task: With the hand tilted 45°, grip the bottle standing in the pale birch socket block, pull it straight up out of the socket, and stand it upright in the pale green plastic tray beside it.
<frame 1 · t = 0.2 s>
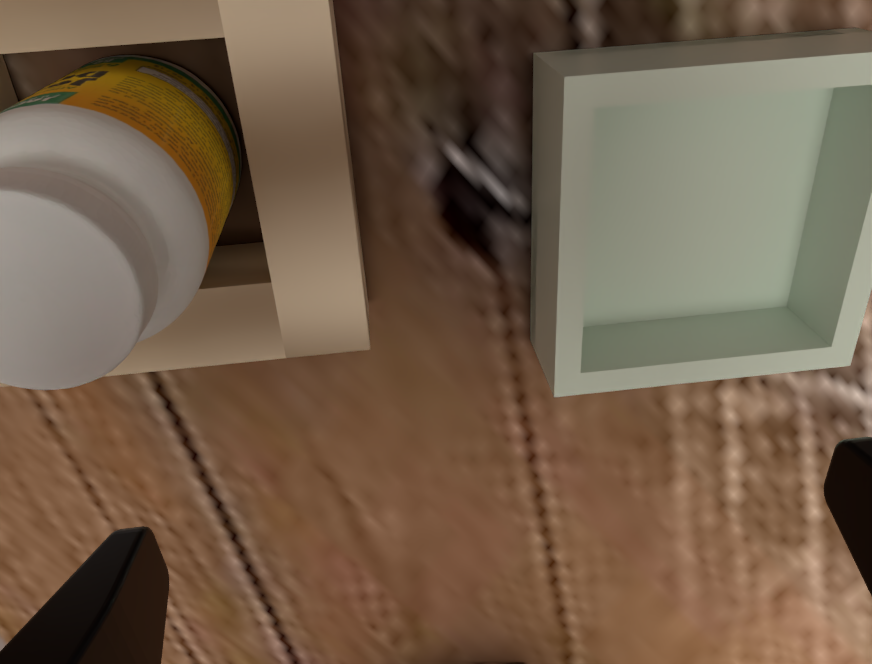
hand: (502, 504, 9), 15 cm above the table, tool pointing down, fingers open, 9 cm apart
tray: (677, 198, 23), on the table
socket block: (150, 148, 21), on the table
supplement bottle: (152, 146, 21), resting in socket block
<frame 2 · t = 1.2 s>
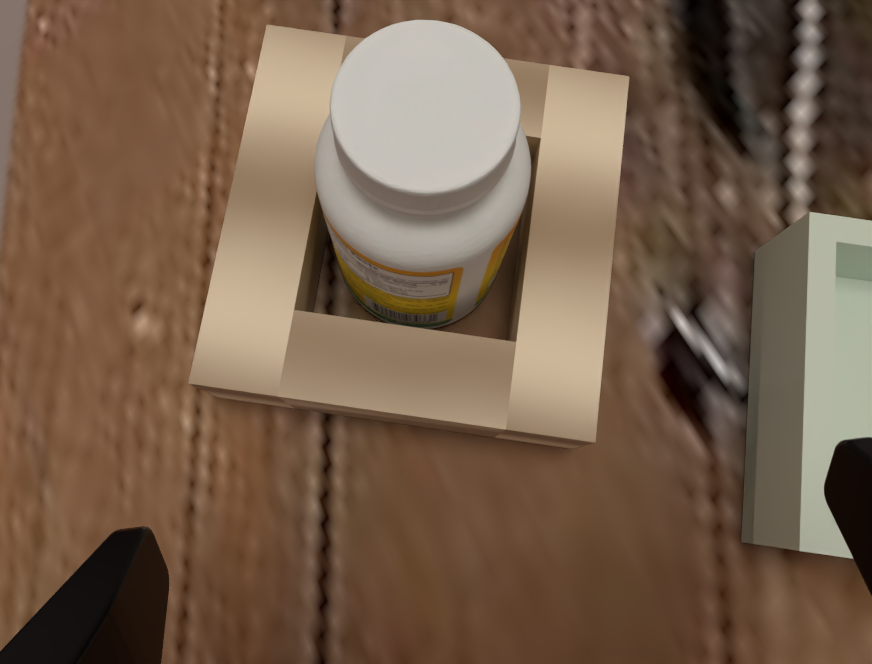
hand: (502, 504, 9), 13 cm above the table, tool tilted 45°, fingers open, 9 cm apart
socket block: (420, 253, 24), on the table
supplement bottle: (420, 256, 24), resting in socket block
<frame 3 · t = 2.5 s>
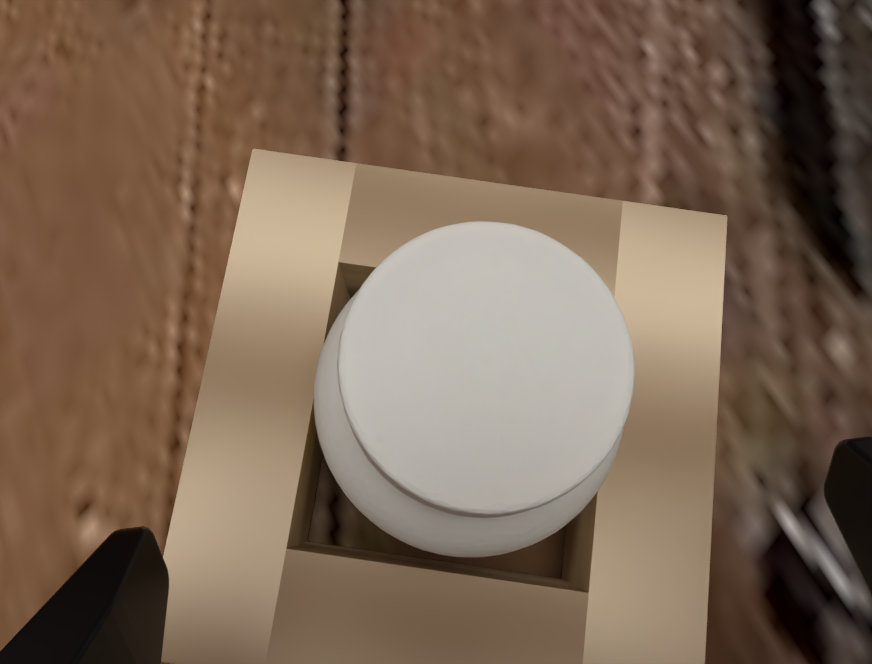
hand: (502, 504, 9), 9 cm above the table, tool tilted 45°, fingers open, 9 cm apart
socket block: (451, 432, 19), on the table
supplement bottle: (450, 433, 19), resting in socket block
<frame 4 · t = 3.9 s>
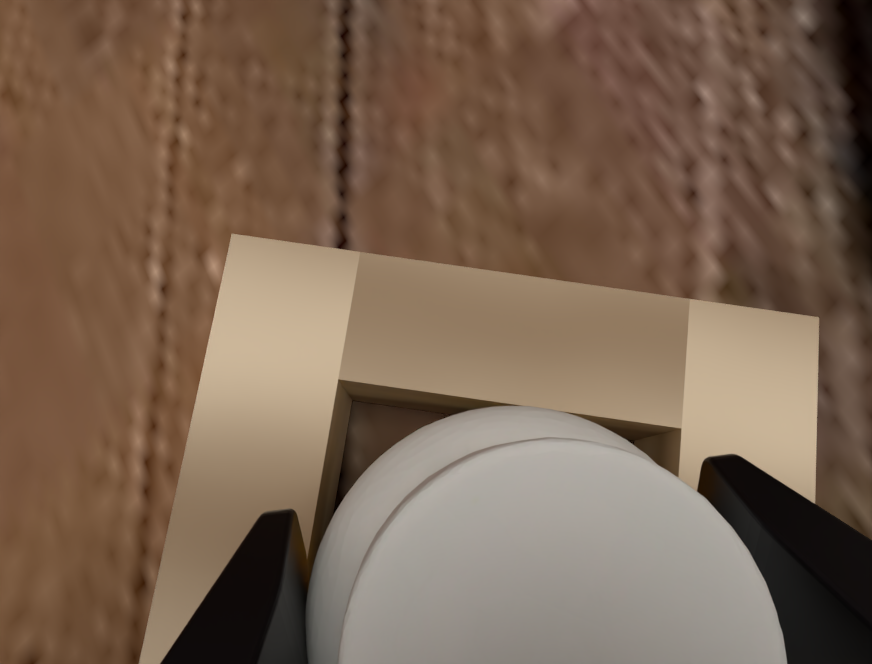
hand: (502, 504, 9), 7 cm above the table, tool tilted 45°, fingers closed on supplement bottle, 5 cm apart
socket block: (474, 568, 16), on the table
supplement bottle: (474, 566, 16), resting in socket block, touching gripper
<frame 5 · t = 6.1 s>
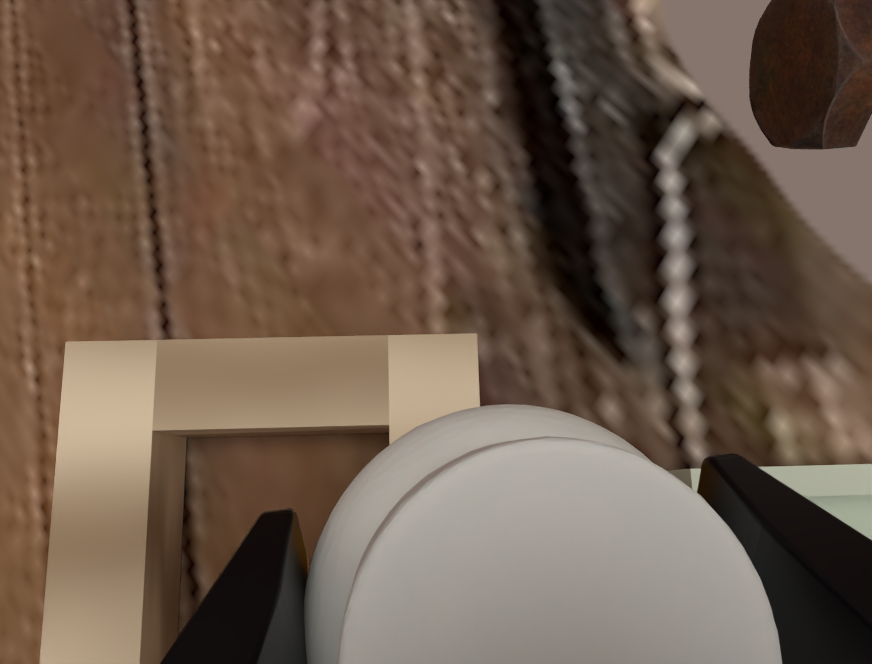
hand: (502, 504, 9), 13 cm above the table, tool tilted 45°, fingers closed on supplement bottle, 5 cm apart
tray: (820, 629, 22), on the table
socket block: (288, 541, 22), on the table
supplement bottle: (468, 564, 16), point 6 cm above the table, touching gripper
when the fingers open (8 cm above the table, at t = 8.2 s): supplement bottle stays where it is, resting on tray.
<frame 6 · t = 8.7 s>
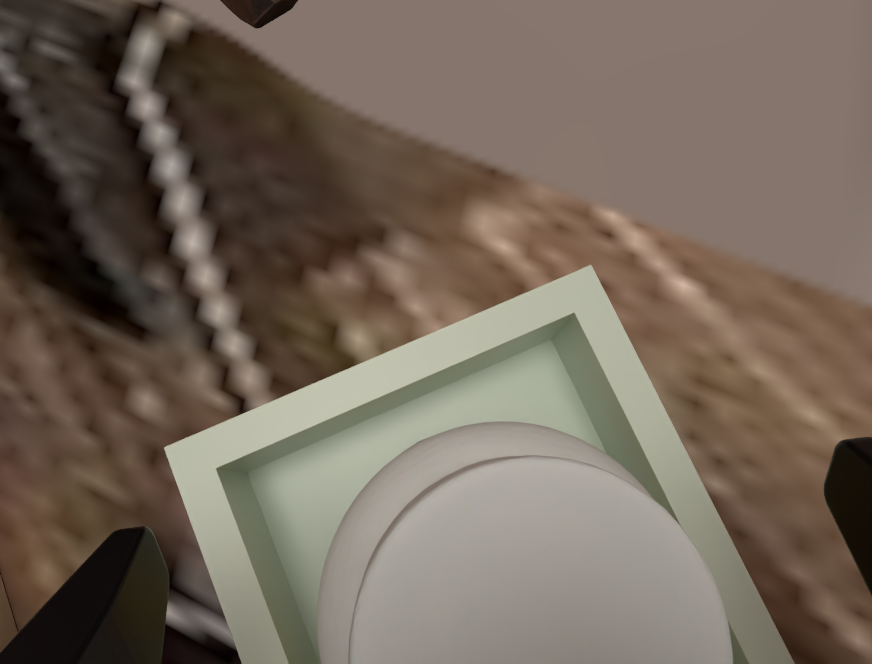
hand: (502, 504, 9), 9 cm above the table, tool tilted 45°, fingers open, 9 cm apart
tray: (469, 559, 17), on the table
supplement bottle: (470, 565, 17), point 1 cm above the table, touching tray
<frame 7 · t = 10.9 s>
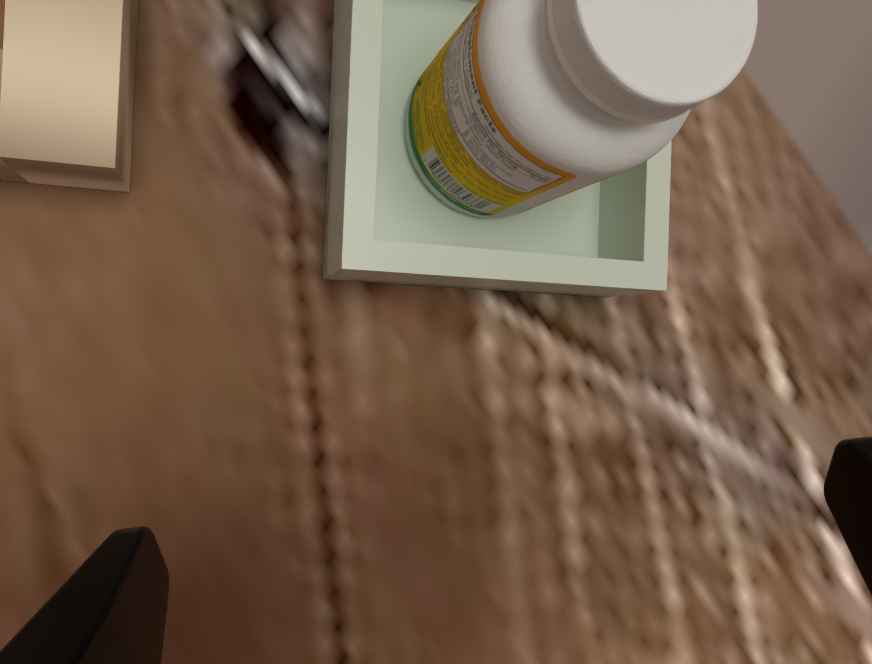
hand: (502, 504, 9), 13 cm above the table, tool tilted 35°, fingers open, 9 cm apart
tray: (478, 140, 23), on the table
supplement bottle: (483, 136, 23), point 1 cm above the table, touching tray
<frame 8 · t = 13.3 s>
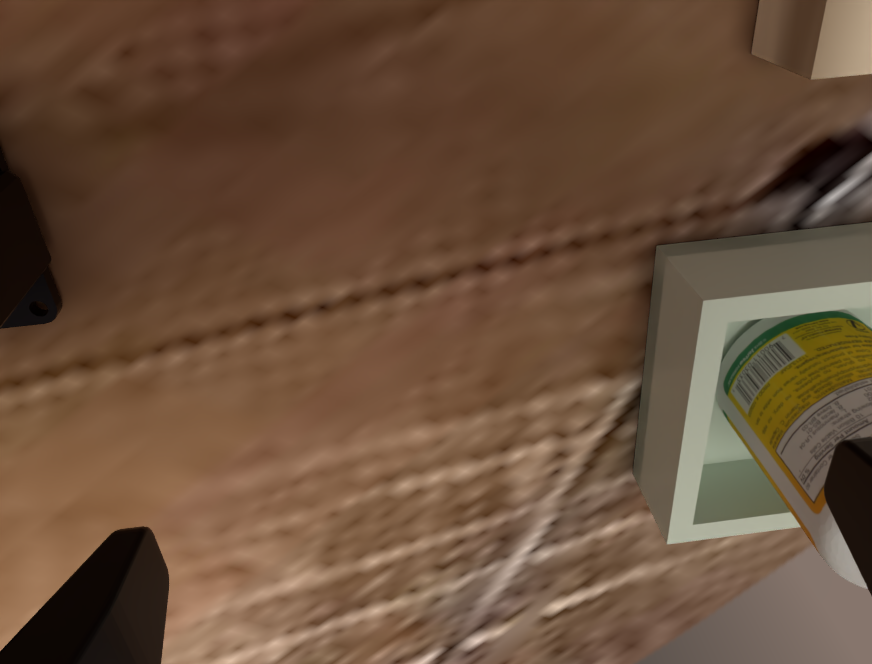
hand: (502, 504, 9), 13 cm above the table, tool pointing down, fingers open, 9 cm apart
tray: (777, 355, 25), on the table
supplement bottle: (784, 363, 25), point 1 cm above the table, touching tray
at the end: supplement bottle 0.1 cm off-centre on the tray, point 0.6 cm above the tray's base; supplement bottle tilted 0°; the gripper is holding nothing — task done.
